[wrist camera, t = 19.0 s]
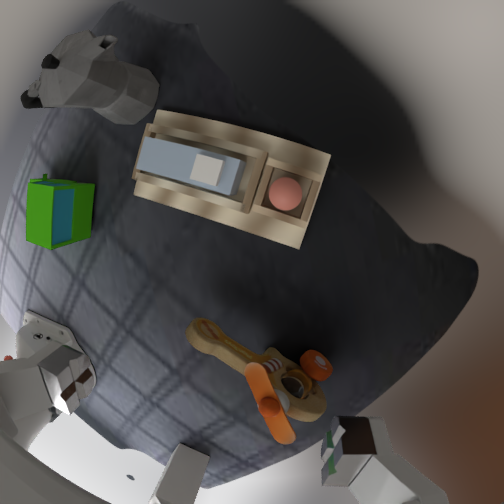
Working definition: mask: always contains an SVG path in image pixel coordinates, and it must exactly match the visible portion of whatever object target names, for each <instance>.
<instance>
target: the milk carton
mask: <svg viewBox="0 0 504 504" xmlns="http://www.w3.org/2000/svg"><path fill="white" fill-rule="evenodd" d="M209 459H210V456H207V455H205V454H203V453H200V452H198V451H196V450H194V449H191V448H189V447H187V446H185V445H183V444H181V443H179V444H178V446H177V447H176V449H175V450H174V452H173V453H172V455H171V457H170V459H169V461H168V463H167V465H166V467H165V469H164V472H163V474H162V476H161V478H160V480H159V482H158V484H157V486H156V488H155V490H154V492H153V494H152V496H151V498H150V501H149V504H194V501H195V499H196V496H197V493H198V490H199V487H200V485H201V482H202V479H203V476H204V473H205V470H206V468H207V465H208V462H209Z"/></svg>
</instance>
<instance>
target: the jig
mask: <svg viewBox="0 0 504 504" xmlns="http://www.w3.org/2000/svg"><path fill="white" fill-rule="evenodd" d="M145 136H146V137H151V138H155V139H160V140H164V141H169V142H173V143H178V144H182V145H186V146H190V147H194V148H198V149H202V150H206V151H210V152H214V153H217V154H221V155H225V156H228V157H232V158H236V159H239V160H242V161H244V162H246V166H245V170H244V173H243V176H242V179H241V182H240V185H239V189H238V192H237V195H230V196H229V195H226V194H223V193H219V192H216V191H213V190H210V189H206V188H203V187H200V186H196V185H193V184H189V183H186V182H183V181H179V180H176V179H172V178H169V177H165V176H161V175H158V174H154V173H151V172H147V171H143V170H139V169H136V167H137V163H138V159H139V155H140V152H141V148H142V145H143V141H144V138H145ZM330 157H331V155H330V154H327V153H324V152H321V151H319V150H316V149H313V148H310V147H307V146H304V145H301V144H298V143H295V142H292V141H288V140H285V139H282V138H279V137H275V136H272V135H269V134H265V133H262V132H258V131H254V130H251V129H247V128H243V127H239V126H235V125H231V124H227V123H223V122H219V121H214V120H210V119H205V118H201V117H196V116H191V115H186V114H181V113H175V112H170V111H164V110H157V112H156V115H155V119H154V122H153V124H149V123H147V125H146V128H145V131H144V135H143V138H142V141H141V145H140V148H139V152H138V156H137V159H136V163H135V167H134V171H133V175H132V179H135V180H137V182H136V186H135V190H134V195H136V196H140V197H143V198H146V199H149V200H152V201H155V202H158V203H162V204H165V205H168V206H171V207H174V208H177V209H180V210H183V211H186V212H189V213H193V214H196V215H199V216H202V217H205V218H208V219H211V220H214V221H217V222H220V223H223V224H226V225H229V226H232V227H235V228H238V229H241V230H244V231H247V232H250V233H253V234H256V235H259V236H262V237H265V238H268V239H270V240H273V241H276V242H279V243H282V244H285V245H288V246H291V247H294V248H297V249H299V248H300V245H301V243H302V240H303V237H304V234H305V231H306V229H307V226H308V223H309V220H310V217H311V214H312V211H313V208H314V205H315V202H316V200H317V197H318V194H319V191H320V188H321V185H322V181H323V178H324V175H325V172H326V169H327V166H328V163H329V160H330ZM283 177H288V178H292V179H294V180H295V181H296V182H298V184H299V185H300V187H301V189H302V199H301V201H300V203H299V204H298V205H297V206H296V207H295V208H293V209H291V210H280V209H278V208H276V207H275V206H274V205H273V204H272V203H271V201H270V198H269V189H270V187H271V185H272V183H273V182H274V181H275V180H277V179H279V178H283Z"/></svg>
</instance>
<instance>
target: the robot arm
mask: <svg viewBox="0 0 504 504" xmlns="http://www.w3.org/2000/svg"><path fill="white" fill-rule="evenodd" d="M16 353H17V359H13V358H12V357H11V356H5V357H6V358H5V359H4V361H0V504H111V503H109V502H107V501H105V500H102V499H101V498H99V497H97V496H95V495H93V494H91V493H90V492H88V491H86V490H84V489H82V488H81V487H79V486H77V485H76V484H74V483H72V482H71V481H69V480H67V479H66V478H64V477H63V476H61V475H59V474H58V473H57V472H55V471H54V470H52V469H51V468H49V467H48V466H46V465H45V464H44V463H42V462H41V461H39V460H38V459H37V458H35V457H34V456H33V455H32V454H30V453H29V452H28V448H29V446H30V444H31V443H32V441H33V440H34V439H35V438H36V436H37V435H38V434H39V432H40V431H41V430H42V429H43V428H44V427H45V426H46V425H47V424H48V423H49V422H53V421H54V420H55V419H56V418H57V417H58V416H59V415H60V414H61V413H62V412H65V413H67V414H69V415H71V414H72V412H74V411H75V409H76V408H77V407H78V406H79V405H80V399H83V398H86V397H88V395H89V394H90V393H91V391H92V389H93V388H94V387H95V384H96V376H95V372H94V369H93V367H92V365H91V363H90V359H89V357H88V356H87V355H86V354H85V353H84V352H83V350H82V349H81V348H80V347H79V345H78V344H77V342H76V340H75V338H74V336H73V334H72V332H71V330H70V329H69V328H67V327H65V326H62V325H60V324H58V323H55V322H53V321H51V320H49V319H46V318H44V317H42V316H40V315H38V314H36V313H34V312H31V311H29V310H28V311H27V312H25V314H24V318H23V327H22V328H21V329H20V330H19V331H18V333H17V335H16ZM321 459H322V460H323V462H324V463H325V465H324V466H323V468H322V486H339V487H340V486H341V487H348V489H349V490H350V491H351V493H352V494H353V495H354V497H355V498H356V499H357V500H358V502H359V503H360V504H449V502H448V498H447V495H446V492H444V491H443V490H442V489H441V488H439V487H438V486H437V485H435V484H434V483H433V482H432V481H431V480H429V479H428V478H427V477H426V476H424V475H423V474H422V473H421V472H419V471H418V470H417V469H416V468H414V467H413V466H412V465H411V464H409V463H408V462H407V461H406V460H405V459H404V458H402V457H401V456H400V455H399V454H394V453H393V449H392V446H391V442H390V439H389V436H388V432H387V429H386V426H385V422H384V419H383V418H382V417H355V416H335V417H334V418H333V420H332V422H331V430H330V431H329V432H327V433H326V435H325V437H324V439H323V443H322V448H321ZM501 504H504V502H503V503H501Z"/></svg>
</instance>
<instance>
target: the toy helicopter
mask: <svg viewBox="0 0 504 504" xmlns="http://www.w3.org/2000/svg"><path fill="white" fill-rule="evenodd" d="M185 334H186V338H187V340H188V341H189V342H190V344H191V345H192V346H193V347H194V348H196V349H197V350H199V351H201V352H203V353H206V354H211V355H214V356H216V357H217V358H219V359H220V360H222V361H223V362H225V363H226V364H228V365H229V366H231V367H232V368H234V369H235V370H237V371H238V372H240V373H241V374H243V375H245V376H246V379H247V381H248V383H249V386H250V388H251V390H252V392H253V395H254V397H255V399H256V402H257V405H258V408H259V412H260V413H261V414H262V415H263V417H264V419H265V421H266V423H267V425H268V427H269V429H270V431H271V433H272V435H273V437H274V439H275V440H276V441H277V442H279V443H282V444H290V443H292V442H294V441H295V439H296V434H295V432H294V430H293V428H292V426H291V424H290V422H289V421H288V419H287V417H286V415H288V416H290V417H292V418H294V419H297V420H300V421H305V422H312V421H315V420H317V419H318V418H319V417H320V416H321V415H322V414H323V413H324V412H325V410H326V399H325V396H324V393H323V391H322V389H321V388H320V386H319V385H318V383H317V382H316V381H315V380H317V381H324V380H326V379H327V378H328V377H329V376H330V375H331V373H332V371H333V369H332V366H331V364H330V362H329V361H328V360H327V359H326V358H325V357H324V356H323V355H322V354H321V353H319V352H317V351H315V350H308V351H306V352H305V353H304V354H303V355H302V356H301V358H300V365H301V367H300V366H299V365H297V364H296V363H294V362H293V361H291V360H289V359H287V358H285V357H284V356H282V355H281V354H280V352H279V351H278V350H277V349H275V348H272V347H270V348H268V349H267V350H266V351H265V352H264V353H263V354H262V355H259V354H256V353H254V352H252V351H250V350H249V349H247V348H246V347H244V346H242V345H241V344H239V343H237V342H236V341H234V340H233V339H231V338H229V337H228V336H226V335H225V334H224V332H223V331H222V330H221V329H220V327H219V326H217V325H216V324H215V323H214V322H212V321H210V320H208V319H205V318H195V319H194V320H193V321H192V322H191V323H190V324H189V326H188V327H187V329H186V331H185ZM305 396H306V397H305ZM285 414H286V415H285Z"/></svg>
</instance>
